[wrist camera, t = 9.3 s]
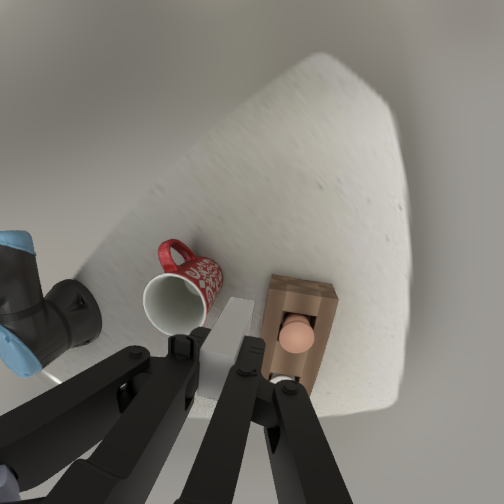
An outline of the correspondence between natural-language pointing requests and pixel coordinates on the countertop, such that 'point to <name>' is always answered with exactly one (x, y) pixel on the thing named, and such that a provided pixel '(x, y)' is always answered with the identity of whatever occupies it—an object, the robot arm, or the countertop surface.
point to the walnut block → (320, 317)
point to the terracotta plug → (296, 333)
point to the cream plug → (280, 377)
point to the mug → (181, 290)
